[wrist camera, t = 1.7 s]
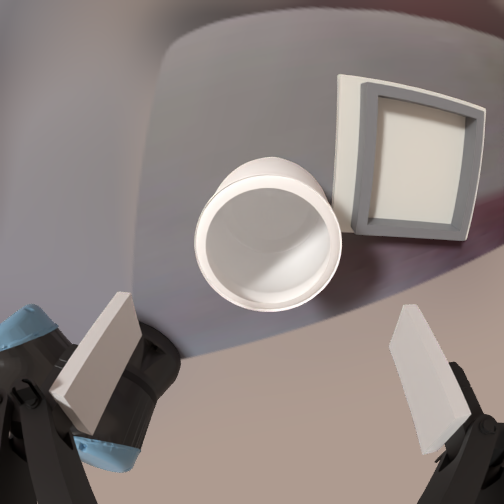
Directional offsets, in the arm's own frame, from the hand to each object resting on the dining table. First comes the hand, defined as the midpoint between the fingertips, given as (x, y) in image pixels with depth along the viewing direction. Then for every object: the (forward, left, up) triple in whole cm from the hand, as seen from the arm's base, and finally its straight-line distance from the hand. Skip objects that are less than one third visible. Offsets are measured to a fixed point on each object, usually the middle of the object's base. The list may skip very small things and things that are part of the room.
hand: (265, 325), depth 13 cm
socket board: (+17, +5, -23) cm, 29 cm away
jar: (0, 0, -23) cm, 23 cm away
